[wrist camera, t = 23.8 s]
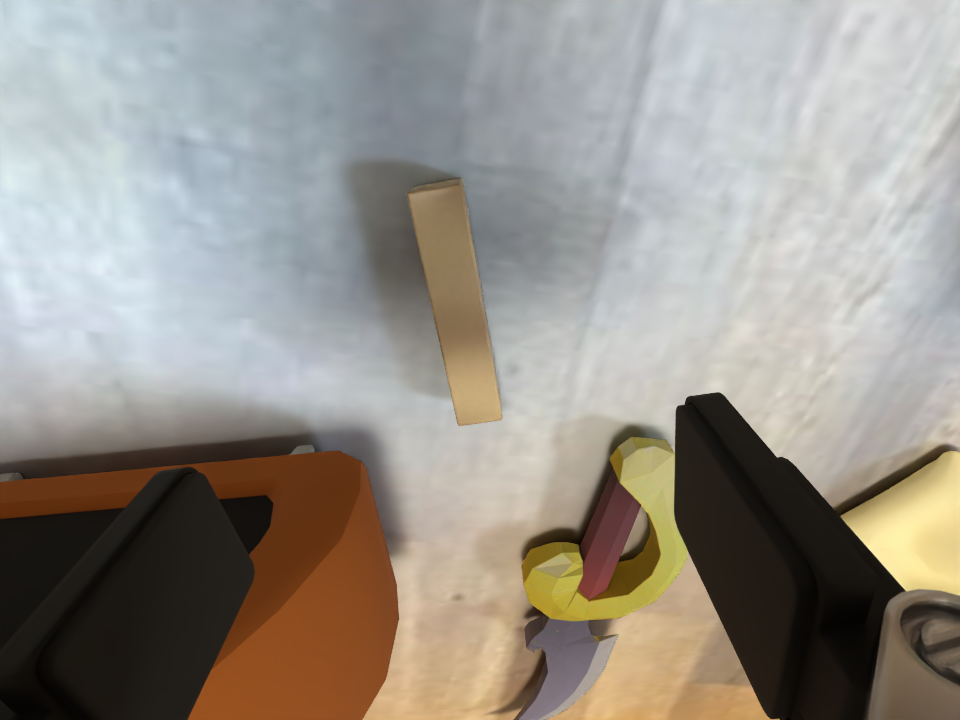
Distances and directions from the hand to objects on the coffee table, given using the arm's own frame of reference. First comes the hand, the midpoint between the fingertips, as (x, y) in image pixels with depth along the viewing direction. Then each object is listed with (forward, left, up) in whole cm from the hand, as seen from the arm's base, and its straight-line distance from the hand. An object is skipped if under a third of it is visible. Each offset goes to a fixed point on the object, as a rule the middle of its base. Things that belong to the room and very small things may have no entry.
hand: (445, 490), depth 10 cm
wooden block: (0, 0, -13) cm, 13 cm away
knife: (+20, +3, -13) cm, 24 cm away
